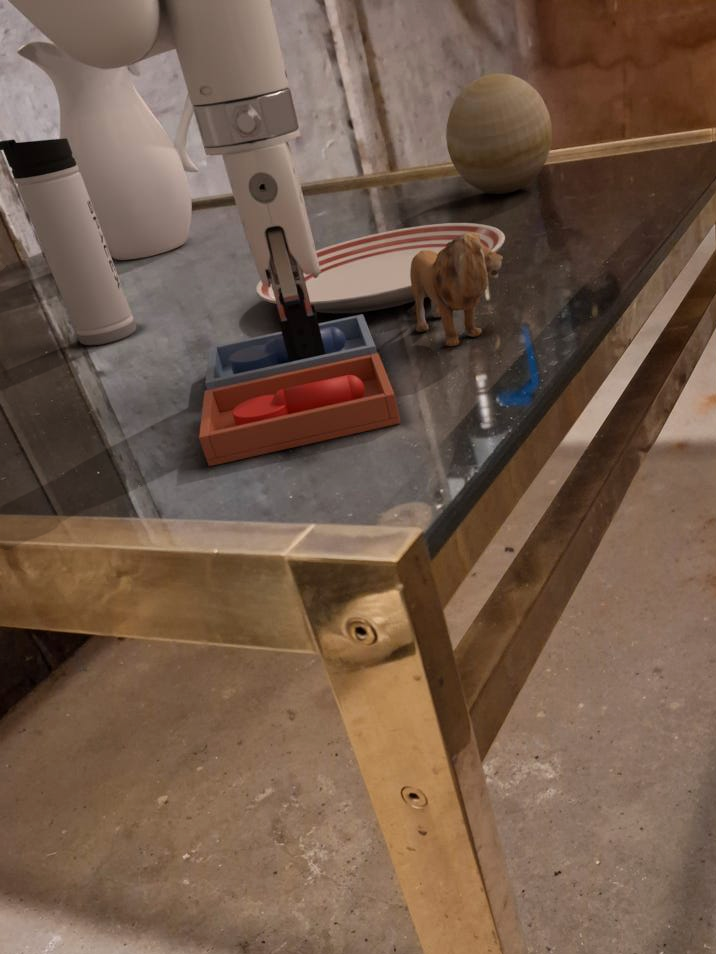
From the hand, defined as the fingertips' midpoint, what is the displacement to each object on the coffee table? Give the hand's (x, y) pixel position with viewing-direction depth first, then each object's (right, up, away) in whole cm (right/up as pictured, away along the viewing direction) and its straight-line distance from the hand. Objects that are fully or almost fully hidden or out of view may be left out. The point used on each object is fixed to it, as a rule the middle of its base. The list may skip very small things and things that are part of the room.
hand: (307, 356), depth 81 cm
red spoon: (+1, -8, -10) cm, 12 cm away
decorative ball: (+19, +40, +53) cm, 70 cm away
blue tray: (-1, -1, +1) cm, 2 cm away
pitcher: (-32, +35, +60) cm, 77 cm away
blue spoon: (-2, 0, 0) cm, 2 cm away
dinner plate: (+5, +14, +20) cm, 24 cm away
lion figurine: (+13, +3, +3) cm, 14 cm away
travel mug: (-26, +8, +20) cm, 34 cm away
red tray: (+1, -8, -9) cm, 12 cm away
